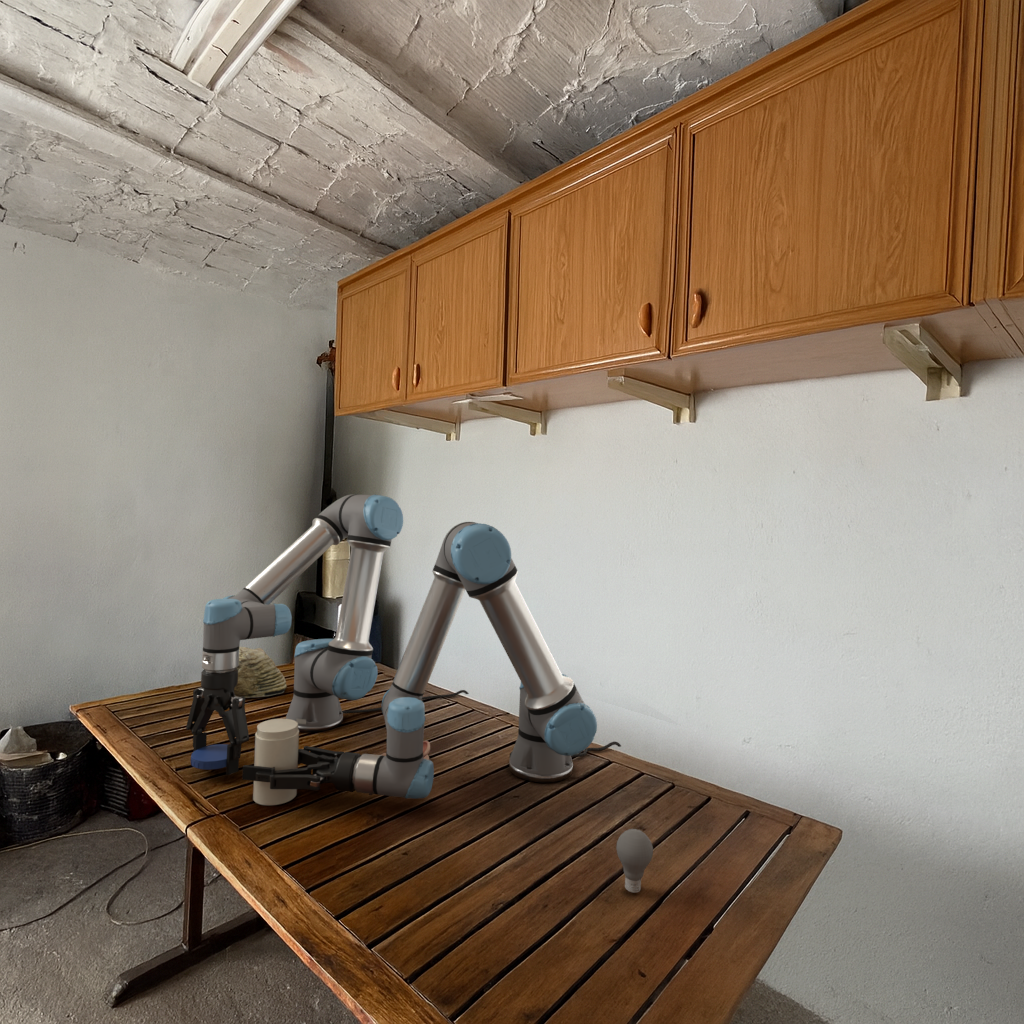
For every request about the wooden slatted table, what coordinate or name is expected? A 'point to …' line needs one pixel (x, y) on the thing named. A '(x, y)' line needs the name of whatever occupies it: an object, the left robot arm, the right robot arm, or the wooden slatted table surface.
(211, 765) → the lid
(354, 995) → the wooden slatted table surface
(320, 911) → the wooden slatted table surface
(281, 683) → the fossil
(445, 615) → the right robot arm
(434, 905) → the wooden slatted table surface
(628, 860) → the light bulb
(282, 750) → the jar
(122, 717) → the wooden slatted table surface
